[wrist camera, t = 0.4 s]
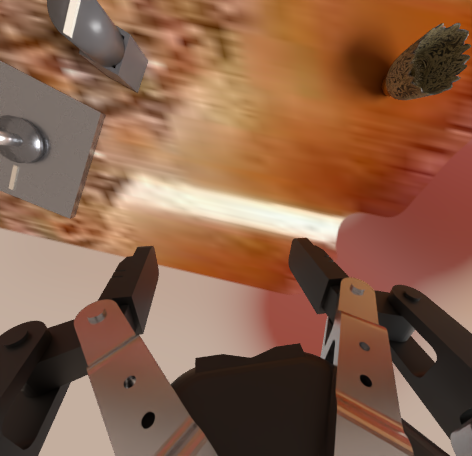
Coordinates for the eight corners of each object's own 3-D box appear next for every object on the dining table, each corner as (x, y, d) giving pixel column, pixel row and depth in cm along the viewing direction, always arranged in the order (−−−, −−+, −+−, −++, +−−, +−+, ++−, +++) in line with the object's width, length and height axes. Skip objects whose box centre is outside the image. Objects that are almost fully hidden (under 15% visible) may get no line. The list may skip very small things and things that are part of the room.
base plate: (-30, 45, 27) (-86, 17, 22) (105, 114, 30) (83, 104, 25) (-46, 168, 31) (-96, 168, 26) (74, 216, 35) (50, 225, 30)
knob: (116, 41, 28) (50, -37, 17) (148, 60, 29) (104, -3, 18) (106, 75, 29) (39, 21, 18) (137, 92, 30) (90, 51, 19)
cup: (364, 109, 33) (407, 92, 25) (373, 56, 31) (423, 19, 23) (405, 110, 33) (460, 94, 26) (417, 58, 31) (481, 23, 24)
